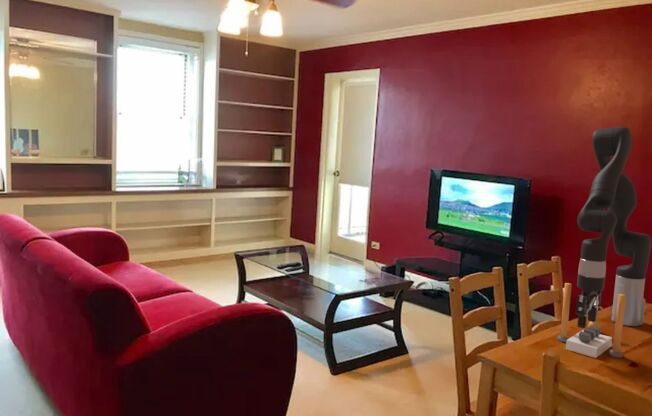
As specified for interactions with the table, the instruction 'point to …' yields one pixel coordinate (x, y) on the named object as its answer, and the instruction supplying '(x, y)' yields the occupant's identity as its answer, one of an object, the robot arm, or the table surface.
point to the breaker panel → (589, 345)
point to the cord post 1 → (565, 313)
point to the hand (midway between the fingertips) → (586, 324)
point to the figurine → (596, 320)
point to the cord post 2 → (618, 327)
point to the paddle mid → (592, 332)
